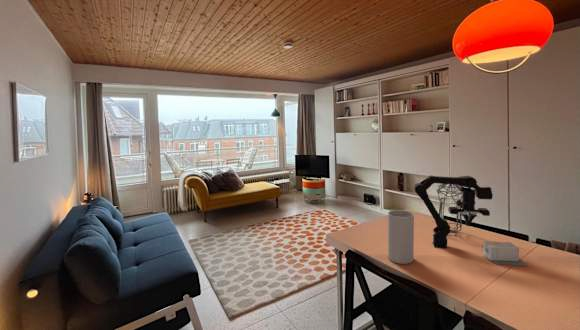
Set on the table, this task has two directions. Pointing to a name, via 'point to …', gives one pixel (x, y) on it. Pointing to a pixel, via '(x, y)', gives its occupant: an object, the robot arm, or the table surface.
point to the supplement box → (501, 251)
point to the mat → (510, 263)
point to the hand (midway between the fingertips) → (467, 225)
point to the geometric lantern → (450, 203)
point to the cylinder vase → (401, 236)
